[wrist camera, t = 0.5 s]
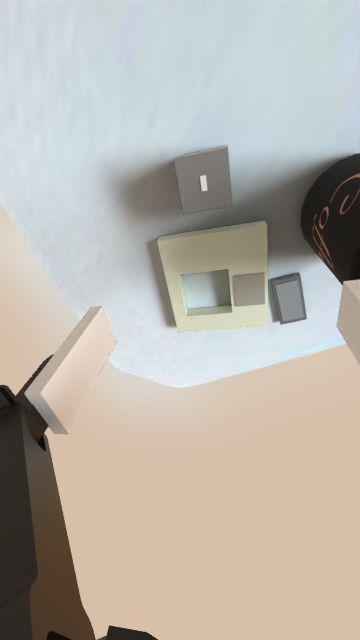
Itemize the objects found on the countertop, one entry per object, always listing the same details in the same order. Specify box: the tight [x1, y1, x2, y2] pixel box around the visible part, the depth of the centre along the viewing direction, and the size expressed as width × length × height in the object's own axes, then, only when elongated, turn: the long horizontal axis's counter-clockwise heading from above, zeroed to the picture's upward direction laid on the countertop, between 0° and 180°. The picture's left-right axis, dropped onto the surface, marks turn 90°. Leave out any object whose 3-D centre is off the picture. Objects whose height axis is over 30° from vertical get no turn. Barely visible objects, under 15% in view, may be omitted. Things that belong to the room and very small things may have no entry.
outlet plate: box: [157, 220, 268, 333], centre depth 36 cm, size 14×13×2 cm
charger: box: [174, 145, 232, 214], centre depth 26 cm, size 4×4×8 cm
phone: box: [271, 273, 307, 324], centre depth 36 cm, size 7×4×1 cm, turn 21°
